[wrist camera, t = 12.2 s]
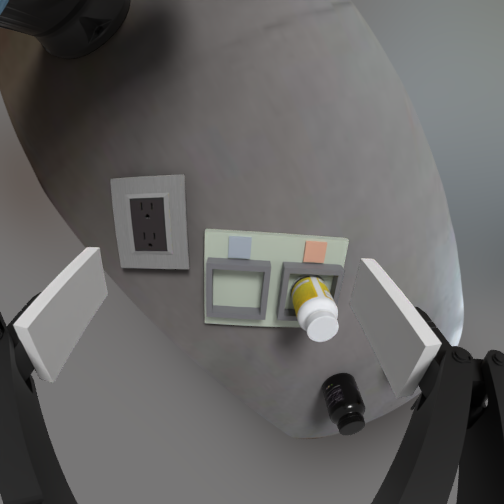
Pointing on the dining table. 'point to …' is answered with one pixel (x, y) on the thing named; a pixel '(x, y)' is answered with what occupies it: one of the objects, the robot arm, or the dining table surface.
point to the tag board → (265, 274)
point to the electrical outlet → (151, 221)
